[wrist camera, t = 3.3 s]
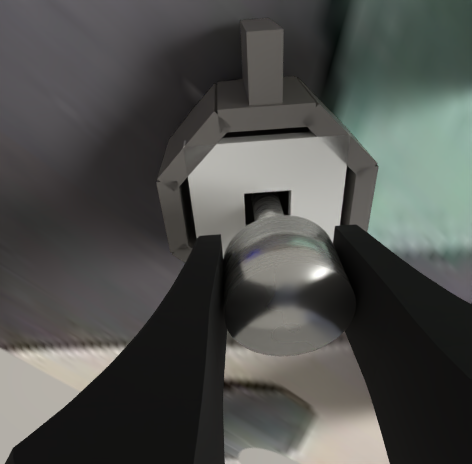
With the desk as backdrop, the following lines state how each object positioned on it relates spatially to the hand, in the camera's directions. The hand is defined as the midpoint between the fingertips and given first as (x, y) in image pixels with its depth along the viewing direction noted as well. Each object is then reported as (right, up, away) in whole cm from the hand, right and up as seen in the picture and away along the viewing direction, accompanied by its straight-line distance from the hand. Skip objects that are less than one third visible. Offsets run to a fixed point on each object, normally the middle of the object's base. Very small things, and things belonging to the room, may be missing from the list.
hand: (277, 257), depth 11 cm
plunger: (0, +2, +3) cm, 4 cm away
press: (0, +4, +6) cm, 7 cm away
